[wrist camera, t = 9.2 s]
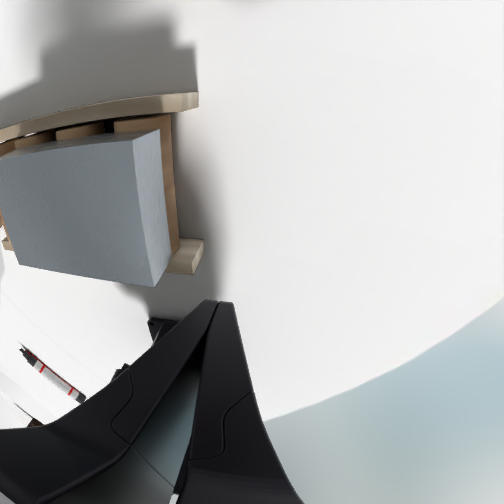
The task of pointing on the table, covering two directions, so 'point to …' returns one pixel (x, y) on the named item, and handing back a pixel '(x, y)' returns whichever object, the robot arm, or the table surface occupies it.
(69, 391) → the marker
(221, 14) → the table surface
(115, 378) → the robot arm
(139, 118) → the roller bed
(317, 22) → the table surface
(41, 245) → the slab
